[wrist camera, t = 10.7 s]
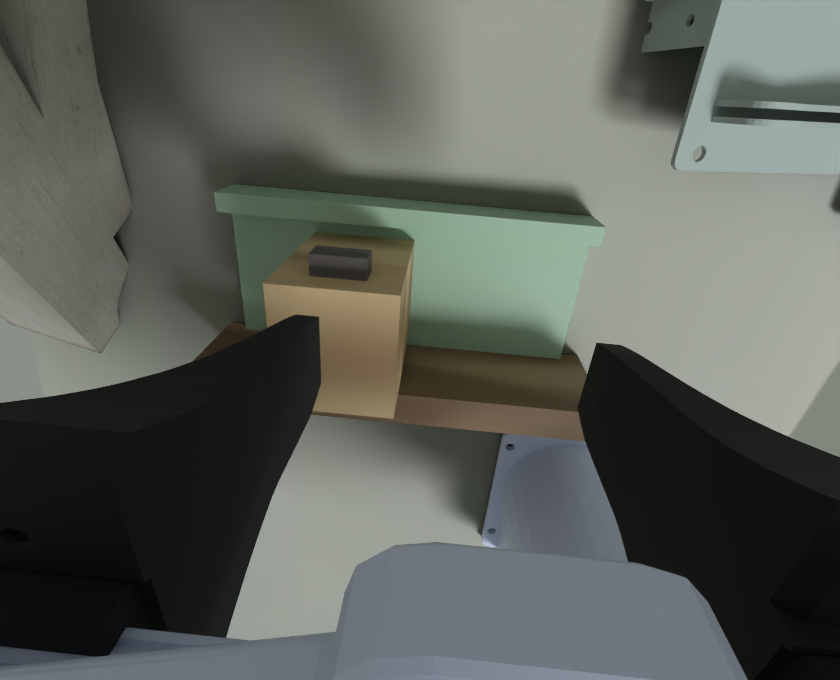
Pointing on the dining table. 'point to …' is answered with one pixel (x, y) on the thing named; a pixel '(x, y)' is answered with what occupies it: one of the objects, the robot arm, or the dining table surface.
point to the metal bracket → (756, 83)
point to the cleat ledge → (432, 262)
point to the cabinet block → (350, 315)
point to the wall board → (475, 390)
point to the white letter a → (57, 178)
